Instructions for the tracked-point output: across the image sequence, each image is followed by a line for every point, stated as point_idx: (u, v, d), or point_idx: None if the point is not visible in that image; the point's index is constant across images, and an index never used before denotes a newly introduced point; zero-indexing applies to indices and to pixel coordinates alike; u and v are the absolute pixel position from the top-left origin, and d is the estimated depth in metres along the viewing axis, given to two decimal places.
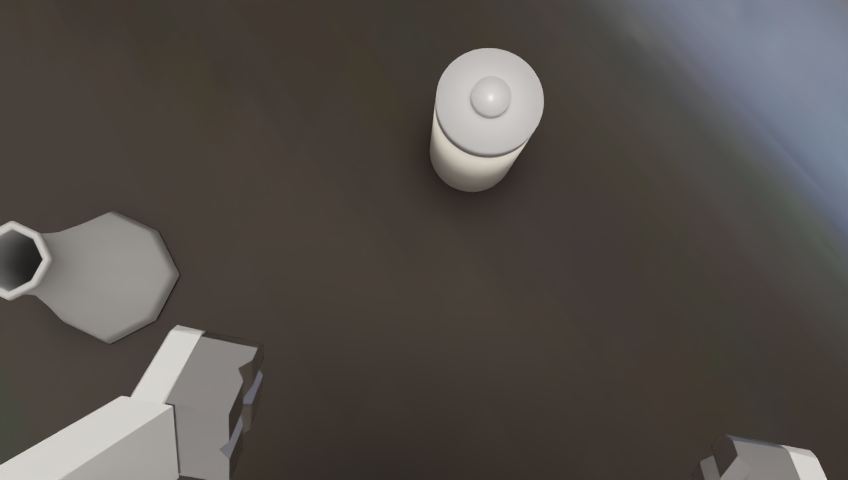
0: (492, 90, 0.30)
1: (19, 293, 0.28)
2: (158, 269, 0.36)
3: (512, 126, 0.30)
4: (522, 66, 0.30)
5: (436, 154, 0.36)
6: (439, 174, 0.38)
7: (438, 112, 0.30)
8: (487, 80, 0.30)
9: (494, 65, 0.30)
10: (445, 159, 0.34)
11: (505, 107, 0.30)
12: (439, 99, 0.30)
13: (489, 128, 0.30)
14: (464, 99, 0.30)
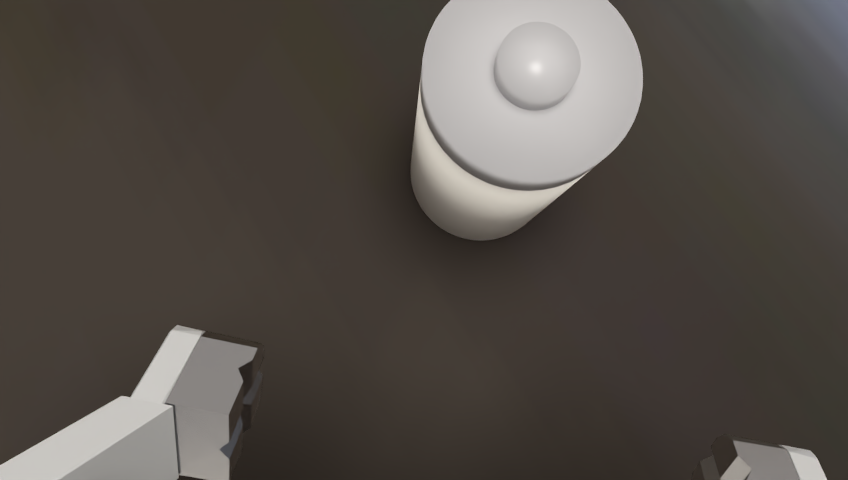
0: (541, 51, 0.14)
1: None
2: None
3: (578, 128, 0.14)
4: (600, 7, 0.15)
5: (421, 177, 0.20)
6: (425, 209, 0.23)
7: (426, 94, 0.14)
8: (531, 30, 0.14)
9: (544, 3, 0.15)
10: (437, 187, 0.19)
11: (567, 87, 0.14)
12: (428, 67, 0.14)
13: (531, 131, 0.14)
14: (481, 69, 0.15)
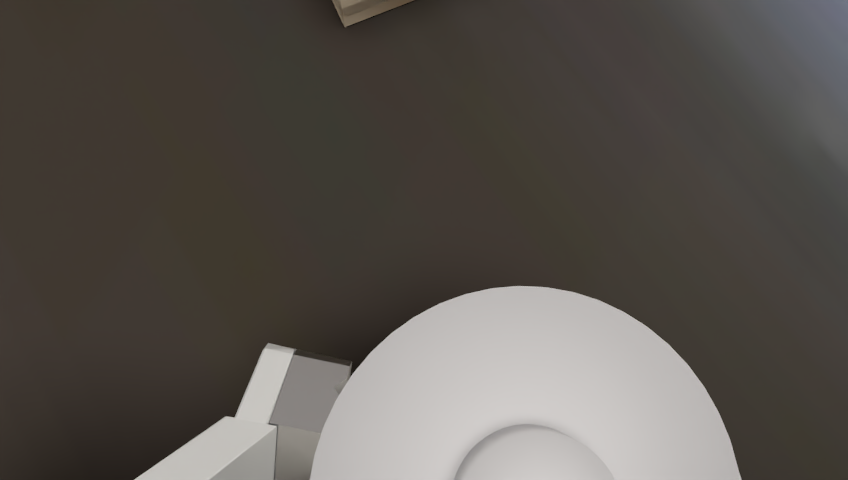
0: None
1: None
2: None
3: None
4: (657, 363, 0.08)
5: None
6: None
7: None
8: (523, 452, 0.07)
9: (550, 358, 0.08)
10: None
11: None
12: None
13: None
14: None
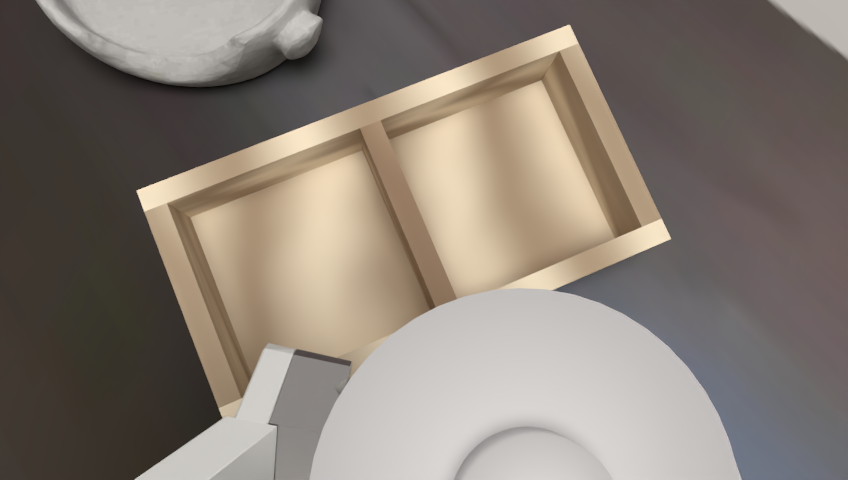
0: None
1: None
2: None
3: None
4: (657, 365, 0.08)
5: None
6: None
7: None
8: (523, 455, 0.07)
9: (549, 360, 0.08)
10: None
11: None
12: None
13: None
14: None
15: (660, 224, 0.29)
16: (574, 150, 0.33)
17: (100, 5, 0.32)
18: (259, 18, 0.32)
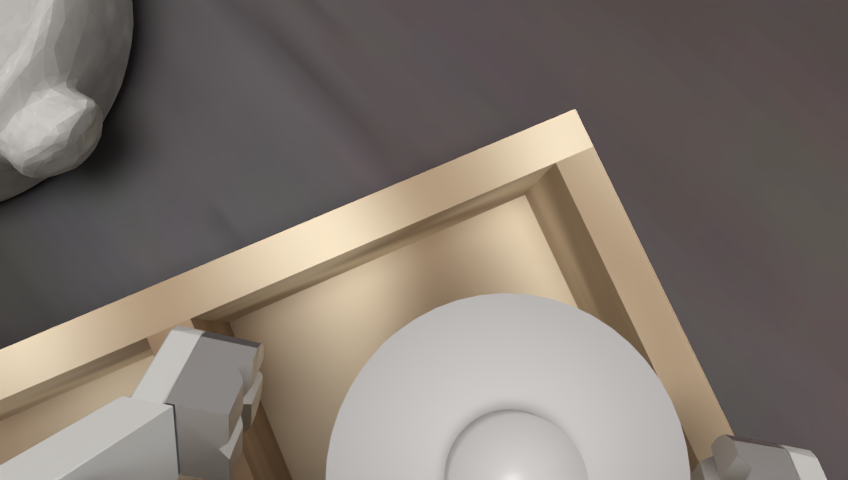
0: (522, 469, 0.08)
1: None
2: None
3: None
4: (619, 358, 0.09)
5: None
6: None
7: None
8: (505, 432, 0.08)
9: (528, 353, 0.09)
10: None
11: None
12: (336, 475, 0.09)
13: None
14: (423, 476, 0.09)
15: None
16: None
17: None
18: None
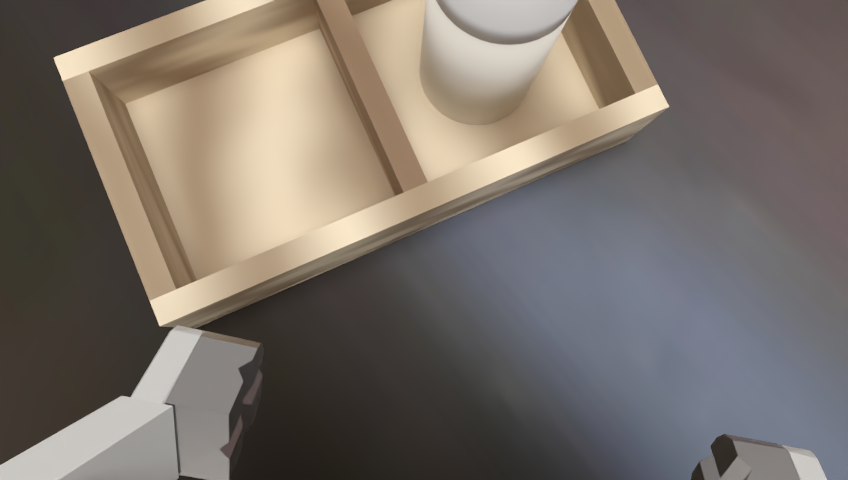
0: None
1: None
2: None
3: None
4: None
5: (428, 62, 0.26)
6: (432, 99, 0.28)
7: None
8: None
9: None
10: (441, 63, 0.24)
11: None
12: None
13: None
14: None
15: (656, 90, 0.26)
16: None
17: None
18: None
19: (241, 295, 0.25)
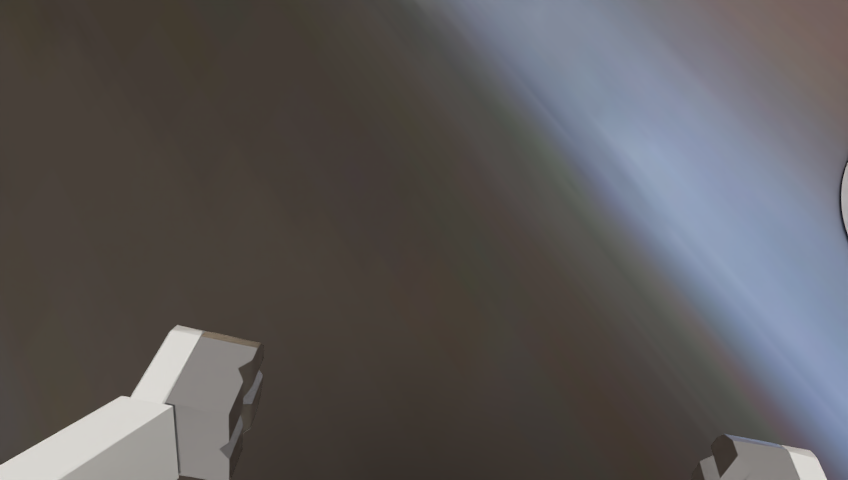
0: None
1: None
2: None
3: None
4: None
5: None
6: None
7: None
8: None
9: None
10: None
11: None
12: None
13: None
14: None
15: None
16: None
17: None
18: None
19: None
